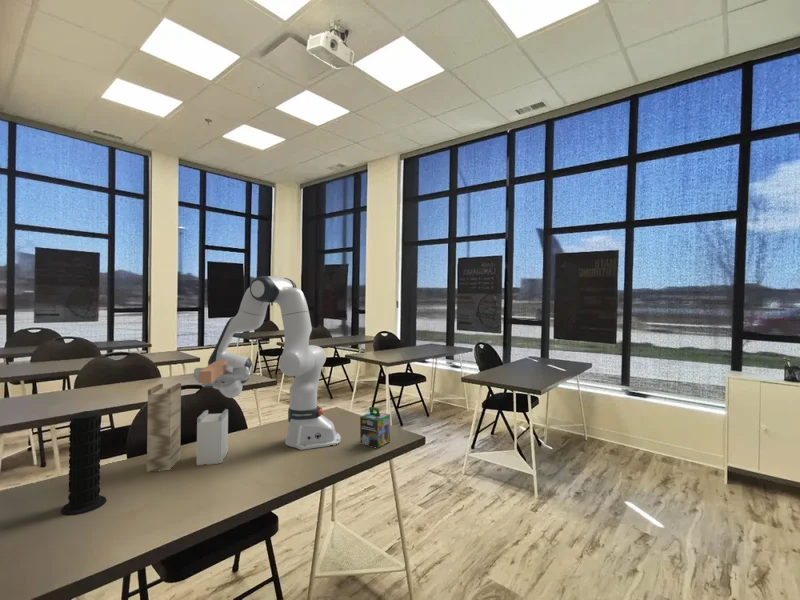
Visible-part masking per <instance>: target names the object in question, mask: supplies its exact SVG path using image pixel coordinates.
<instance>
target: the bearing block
mask: <svg viewBox="0 0 800 600" xmlns="http://www.w3.org/2000/svg"><path fill="white" fill-rule="evenodd" d="M181 408H182V383H180V382H179V383H176V384H175V385H173V386H171V387H164V384H163V383H158V384H157V385H155V386H153V387H151V388H149V389H147V439H146V440H147V441H146V472H147V471H158V472H162V471H161V470H170V469H171V468H172V467H173V468H174V467H175V465H176V464H177V463H178V462H179V461H180V460H181V432H182V431H181V429H182V427H181V424H182V422H181V421H182V419H181V418H182V415H181V414H182V413H181V412H182V411H181V410H182V409H181ZM179 459H180V460H179ZM178 460H179V461H178ZM177 461H178V462H177ZM176 462H177V463H176ZM175 463H176V464H175ZM173 468H172V469H173ZM172 469H171V470H172ZM159 470H160V471H159ZM171 470H170V471H171Z"/></svg>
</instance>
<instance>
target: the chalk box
mask: <svg viewBox="0 0 800 600" xmlns="http://www.w3.org/2000/svg"><path fill="white" fill-rule="evenodd" d="M359 419H360V420H359V421H360V423H359V425H360V427H359V430H360V432H359V433H360V436H359V437H360V443H362V444H361V445H363V444H365V445H364V446H366V445H369V446H368V447H370V446H372V447H371V448H374V447H376V448H375V449H377V448H378V447H380V446H381V447H383V446H384V445H383V444H385V443H387V442H388V443H390V442H391V414H390V413H385V412H380V410H379V408H378V407H372V406H370V407H369V412H367V413H365V414H363V415H361V416H360V418H359ZM389 441H390V442H389ZM388 443H387V444H388ZM382 445H383V446H382ZM385 445H386V444H385ZM381 447H380V448H381ZM378 449H379V448H378Z"/></svg>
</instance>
